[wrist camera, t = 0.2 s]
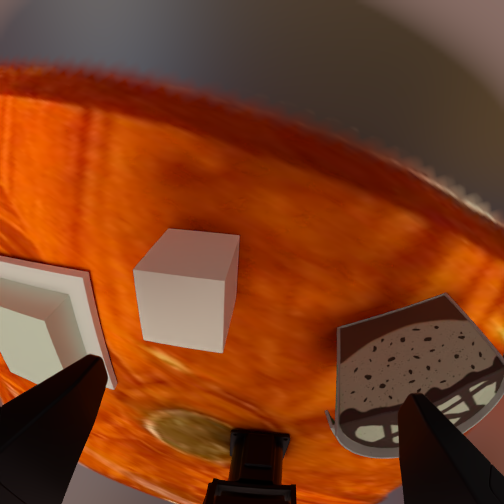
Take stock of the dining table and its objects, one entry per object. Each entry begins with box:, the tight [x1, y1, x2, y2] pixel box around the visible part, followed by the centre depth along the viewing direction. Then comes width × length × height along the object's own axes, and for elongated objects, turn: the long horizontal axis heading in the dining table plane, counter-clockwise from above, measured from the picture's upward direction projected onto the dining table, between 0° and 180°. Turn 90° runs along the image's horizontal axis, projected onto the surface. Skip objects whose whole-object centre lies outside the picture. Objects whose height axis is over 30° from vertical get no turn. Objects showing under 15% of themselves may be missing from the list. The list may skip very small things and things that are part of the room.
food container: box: [325, 293, 504, 458], centre depth 19 cm, size 12×6×10 cm, turn 111°
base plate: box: [0, 256, 117, 390], centre depth 27 cm, size 14×14×1 cm
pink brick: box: [133, 228, 240, 353], centre depth 20 cm, size 5×5×6 cm
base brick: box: [0, 278, 87, 384], centre depth 24 cm, size 10×10×4 cm
